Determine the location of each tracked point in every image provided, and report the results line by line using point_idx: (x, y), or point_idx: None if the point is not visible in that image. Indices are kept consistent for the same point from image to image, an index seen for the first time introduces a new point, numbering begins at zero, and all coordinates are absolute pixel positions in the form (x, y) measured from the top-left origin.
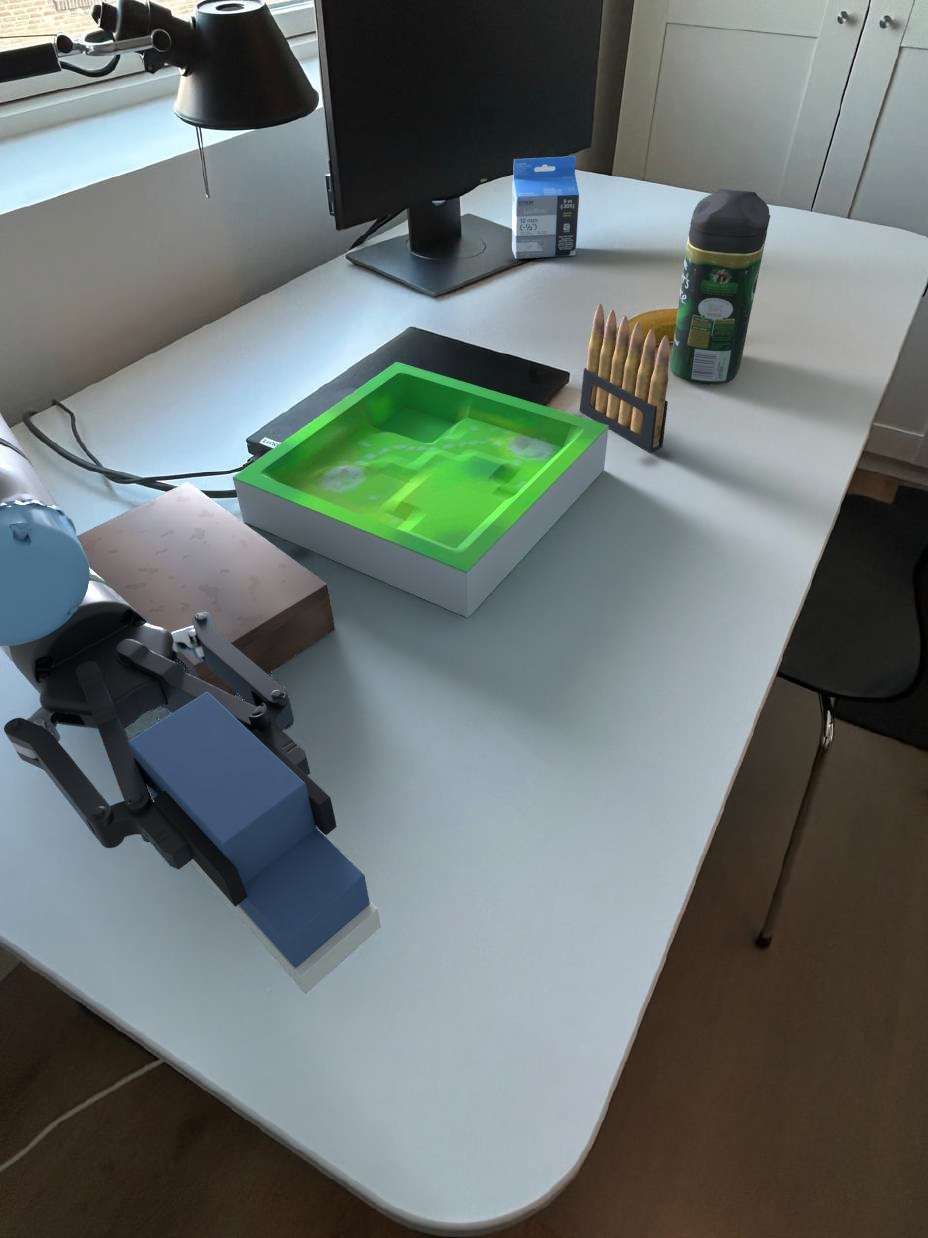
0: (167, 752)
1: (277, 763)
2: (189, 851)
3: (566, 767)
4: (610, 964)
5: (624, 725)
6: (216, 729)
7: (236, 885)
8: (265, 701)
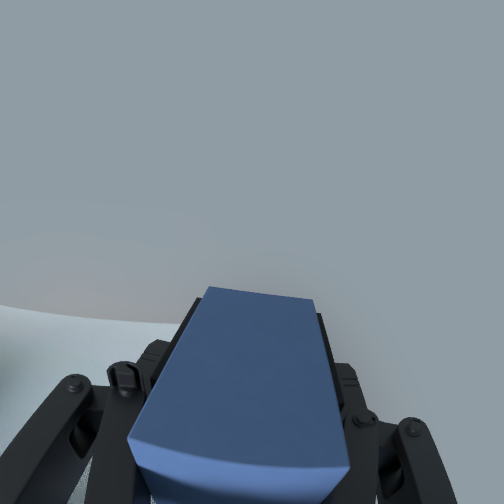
0: (299, 400)
1: (203, 305)
2: None
3: (42, 362)
4: (153, 332)
5: (14, 343)
6: (203, 376)
7: None
8: (85, 408)
